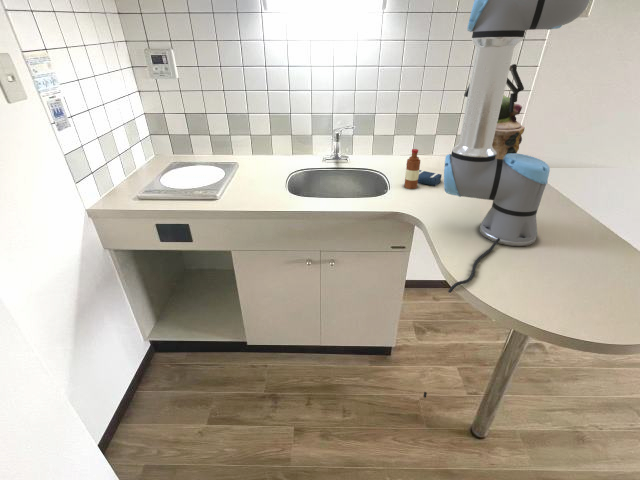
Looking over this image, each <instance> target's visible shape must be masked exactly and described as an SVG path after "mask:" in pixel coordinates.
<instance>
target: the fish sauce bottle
mask: <svg viewBox="0 0 640 480" xmlns="http://www.w3.org/2000/svg"><path fill="white" fill-rule="evenodd" d="M418 153H419V149H417V148H412V149H411V156H409V158H407V159H406V166H405V167H406V168H405V174H404V188H405V189H408V190H415V189H417V188H418V185H419V184H418V177H419V170H420V167H421V159H420V157H419V156H418Z"/></svg>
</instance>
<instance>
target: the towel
mask: <svg viewBox="0 0 640 480" xmlns="http://www.w3.org/2000/svg"><path fill="white" fill-rule="evenodd" d="M442 175H443V174H441V173H437V172H432V171H427V170H421V169H419V177H418V183H419V184H421V185H427V186H432V187H436V186H437V185H438V184H440V183H442V182H441V180H442Z"/></svg>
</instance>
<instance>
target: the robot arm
mask: <svg viewBox="0 0 640 480" xmlns="http://www.w3.org/2000/svg"><path fill="white" fill-rule="evenodd" d="M590 1H591V0H473V3H472V8H471V11H470V15H469V19H468V22H467V23H468V24H467V32H470V33H471V34H472V35H471V41H472V42H473V44H474V45H475V47H476V49H475V55H474V59H473V66H472V71H471V76H470V82H469V84H468V86H467V88H466V90H465V92H464V94H463V96H464V97H465V98H467V99H466V104H465V109H464V115H463V119H462V126H461V131H460V136H459V141H458V144H456V145H455V146H453V147H452V149H451V153H448V154H446V155H445V158H444V170H443V172H444V173H443V190H444V191H445V193H446V194H448V195H451V196H456V197H459V198H461V197H462V198H463V197H464V198H469V199H470V198H471V199H479V200H480V199H481V200H489V201H492V204H491V207H490V209H489V210H488V212H487V213H486V215H485V216H484V218H483V219H482V221H481V223H480V226H479V232H480V234H481V235H482V236H483V237H485V238H486V239H487V240H489V241H492V242H493V243H492V245H491V246H490V247H489V248H488V249H487V250H486V251H485V252H483V253H482V254H480V255H479V256H478V257H477V258H476V259H475V260H474V261H473V265H472V268H471V273H470V275H469V276H468V277H467V279H464V280H460V281H457V282H455V283H453V284H452V285H451V286H450V288H449V289H448V290H447V292H448V294H449V293H450V294H451V293H452V292H453V290H454V289H455V288H457V287H458V286H460V285H464V284H467V283H470V281H472V280H473V278H474V276H475V273H476V269H477V265H478V263H479V262H480V260H482V259H483V258H484V257H485V256H487V255H488V254H489V253H490V252H492V251H493V249H494V248H495V247H496V246H497V244H500V245H504V246H510V247H526V246H527V247H528V246H530V245H533V244H534V243H535V242H536V240H537V237H538V226H537V224H538V223H537V214H538V210H539V207H540V204H541V200H542V198H543V194H544V191H545V189H546V186H547V184H548V181H549V175H550V171H551V169H550V166H549V164H548V163H546V162H545V161H544V160H542V159H540V158H538V157H534V156H532V155H528V154H523V153H518V152H517V153H513V154H512V153H509V154H506V155H505V156H504V157H503V159H495V157H496V151H495V150H494V148H493V147H492V143H493V139H494V134H495V130H496V126H497V121H498V117H499V113H500V108H501V104H502V99H503V95H504V96H505V90H506V86H507V87H508V89H510V91H511V92H512V93H510V95H509V98H510V105H509V112H513V109H514V103H517V102H518V96H519V93H520V92H523V91H524V90H525V87H524V85H523V83H522V80H521V77H520V76H519V73H518V70H517V64H516V63H513V64H512V60H513V56H514V51H515V48H516V47H517V45H518V44H519V43H521V42H522V41H523V40H524V38H525V34H526V31H531V30H532V31H533V30H535V31H536V30H549V31H550V30H557V29H561V28H562V27H563V26H565V25H568V24H569V23H571V22H574V21H575V20H576V19H578V18H579V17H580V16H581V15H582V14H583V13H584V11H585V10H586V9H587V7H588V5H589V3H590ZM509 73H510V74H511V76H512V78H513V80H514V83H515V84H516V86H515V85H514V83H513V82H512V81H511V80H510V78H508V77H509ZM427 395H428V392H426V391H424V392H423V398H427Z"/></svg>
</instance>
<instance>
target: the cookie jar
mask: <svg viewBox="0 0 640 480" xmlns="http://www.w3.org/2000/svg"><path fill="white" fill-rule="evenodd" d="M509 105H510V96H506V95H505V94H504V95H503V99H502V104H501V108H500V113H499V117H498V121H497V126H496V130H495V134H494V139H493V143H492V147H493V148H494V150H495V151H496V157H495V159H503V157H504V156H505V155H506V154H509V153H512V154H513V153H517V154H518V152H519V150H520V145H521V144H522V141H523V138H522V135H523V134H524V132H525V130H526V129H525V126H523V125H522V124H521V122H520V121H518V120H517V117H516V116H518V115H520V113H521V111H522V110H523V106H522V105H521V104H519V103H516V102H514V109H513V112H509Z"/></svg>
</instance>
